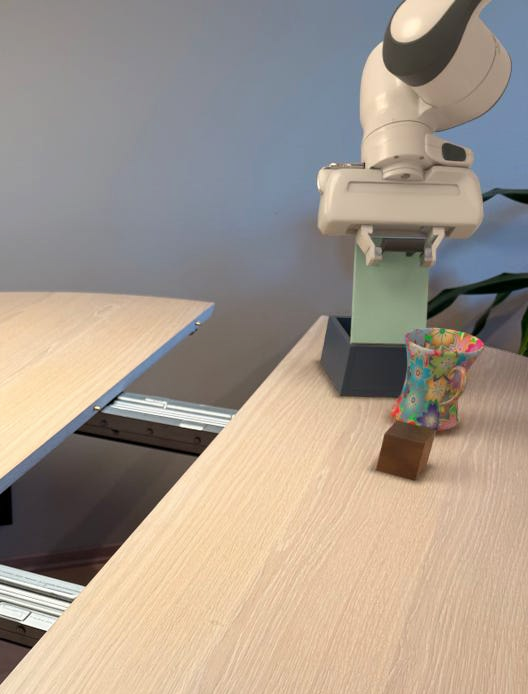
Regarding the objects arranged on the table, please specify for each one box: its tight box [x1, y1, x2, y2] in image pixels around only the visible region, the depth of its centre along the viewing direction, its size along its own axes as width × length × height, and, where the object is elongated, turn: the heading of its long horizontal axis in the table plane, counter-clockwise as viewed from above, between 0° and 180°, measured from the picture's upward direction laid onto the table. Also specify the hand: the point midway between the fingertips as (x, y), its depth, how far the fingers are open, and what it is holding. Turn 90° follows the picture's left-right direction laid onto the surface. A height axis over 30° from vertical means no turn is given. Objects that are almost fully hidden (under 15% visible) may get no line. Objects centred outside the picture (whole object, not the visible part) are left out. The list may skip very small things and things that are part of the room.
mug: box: [389, 327, 485, 432], centre depth 121 cm, size 12×9×11 cm
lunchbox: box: [319, 314, 407, 398], centre depth 135 cm, size 13×10×7 cm
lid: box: [350, 236, 432, 345], centre depth 125 cm, size 13×10×5 cm
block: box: [375, 420, 437, 481], centre depth 113 cm, size 5×5×5 cm
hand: (401, 264), depth 124 cm, fingers open, 5 cm apart
